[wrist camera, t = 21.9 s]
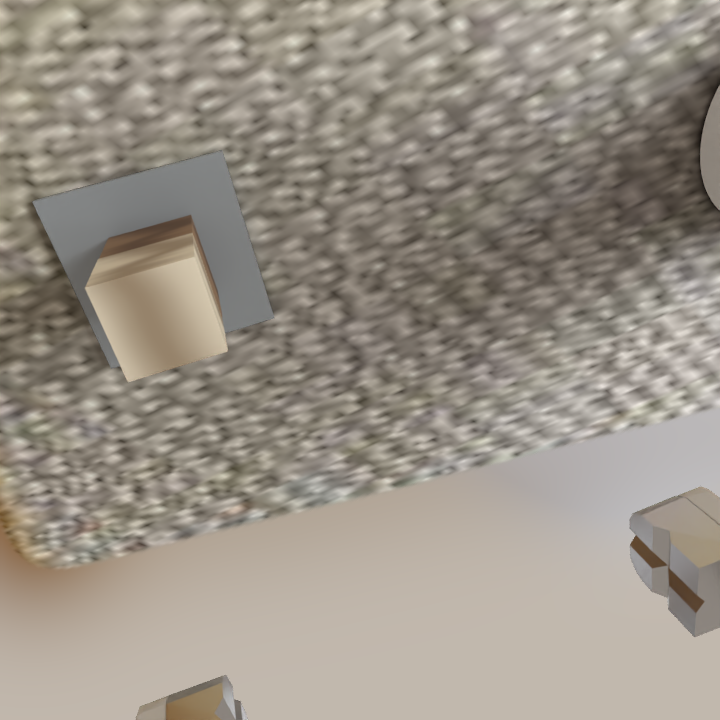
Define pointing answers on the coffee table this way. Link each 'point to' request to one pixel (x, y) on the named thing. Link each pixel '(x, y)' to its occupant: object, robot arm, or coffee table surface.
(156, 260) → the beech cube
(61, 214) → the pad
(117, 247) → the walnut cube
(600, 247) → the coffee table surface
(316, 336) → the coffee table surface
